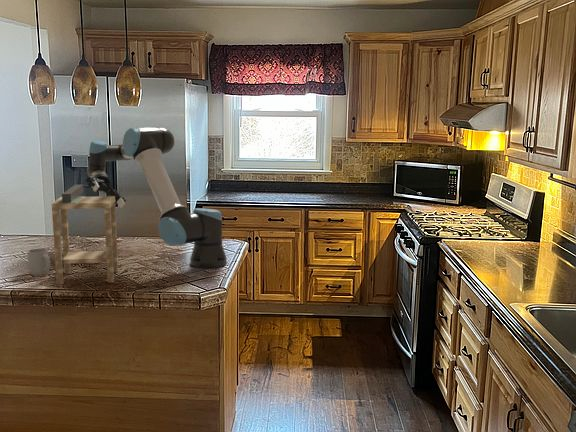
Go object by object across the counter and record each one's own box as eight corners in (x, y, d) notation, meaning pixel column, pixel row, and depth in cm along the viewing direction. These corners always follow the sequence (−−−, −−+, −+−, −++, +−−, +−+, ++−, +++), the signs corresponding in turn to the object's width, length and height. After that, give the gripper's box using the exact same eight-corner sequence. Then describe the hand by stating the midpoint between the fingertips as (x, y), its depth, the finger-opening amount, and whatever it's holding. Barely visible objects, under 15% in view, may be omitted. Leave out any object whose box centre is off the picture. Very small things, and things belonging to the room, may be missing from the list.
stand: (118, 270, 231) (114, 195, 225) (113, 282, 215) (109, 202, 210) (65, 272, 227) (60, 196, 222) (56, 284, 212) (51, 202, 206)
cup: (40, 269, 231) (39, 247, 230) (57, 272, 227) (56, 250, 225) (24, 273, 225) (23, 251, 223) (42, 277, 220) (40, 254, 219)
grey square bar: (83, 191, 233) (83, 184, 233) (71, 202, 208) (70, 193, 208) (75, 191, 233) (75, 184, 232) (62, 202, 208) (61, 194, 207)
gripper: (117, 201, 272) (127, 218, 255) (72, 172, 257) (79, 188, 240) (127, 188, 272) (138, 205, 255) (82, 159, 257) (91, 174, 240)
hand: (109, 197), depth 247 cm, fingers open, 13 cm apart
